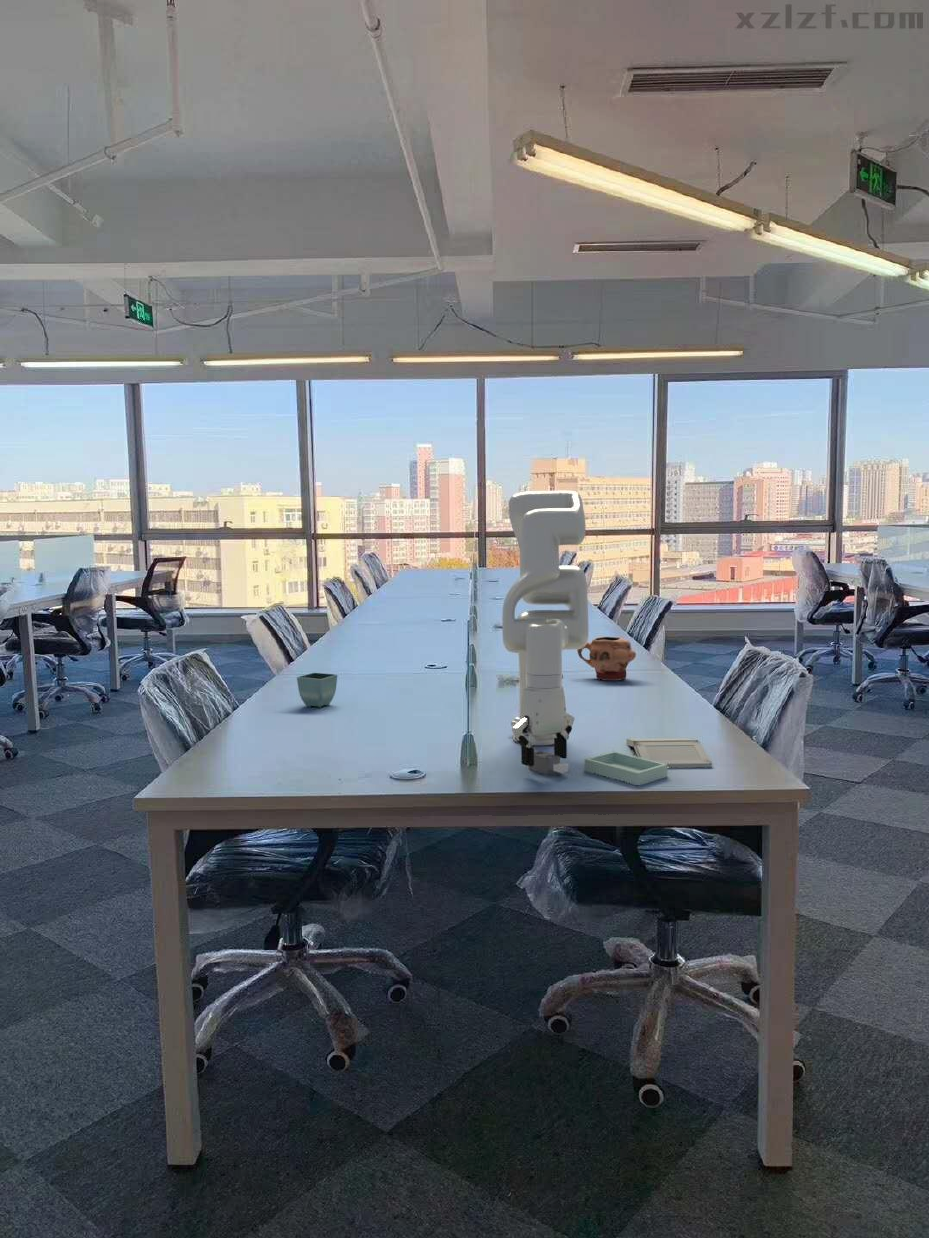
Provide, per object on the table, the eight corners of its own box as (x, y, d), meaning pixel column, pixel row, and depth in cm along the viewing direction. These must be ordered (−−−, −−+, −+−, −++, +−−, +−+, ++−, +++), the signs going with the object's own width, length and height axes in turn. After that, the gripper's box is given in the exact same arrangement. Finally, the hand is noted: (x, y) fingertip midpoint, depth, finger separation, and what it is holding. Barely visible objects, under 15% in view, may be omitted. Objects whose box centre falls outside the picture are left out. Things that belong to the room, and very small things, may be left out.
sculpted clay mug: (572, 680, 294) (572, 638, 292) (581, 674, 305) (581, 634, 304) (632, 683, 286) (632, 641, 285) (639, 677, 298) (639, 636, 296)
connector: (525, 768, 191) (525, 752, 190) (536, 765, 193) (536, 749, 192) (559, 778, 183) (559, 761, 182) (570, 775, 185) (570, 759, 184)
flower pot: (339, 703, 262) (338, 674, 261) (322, 709, 254) (321, 678, 253) (314, 701, 265) (313, 672, 264) (296, 707, 257) (295, 677, 256)
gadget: (625, 744, 212) (625, 729, 212) (688, 743, 212) (688, 728, 211) (642, 771, 190) (642, 754, 189) (713, 770, 189) (713, 754, 189)
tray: (584, 770, 188) (584, 758, 188) (614, 762, 194) (614, 751, 194) (637, 785, 177) (638, 773, 177) (667, 776, 183) (667, 764, 183)
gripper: (559, 675, 195) (560, 751, 196) (501, 684, 184) (502, 764, 185) (585, 678, 189) (585, 757, 190) (526, 688, 178) (526, 771, 179)
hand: (544, 761), depth 188 cm, fingers open, 9 cm apart
